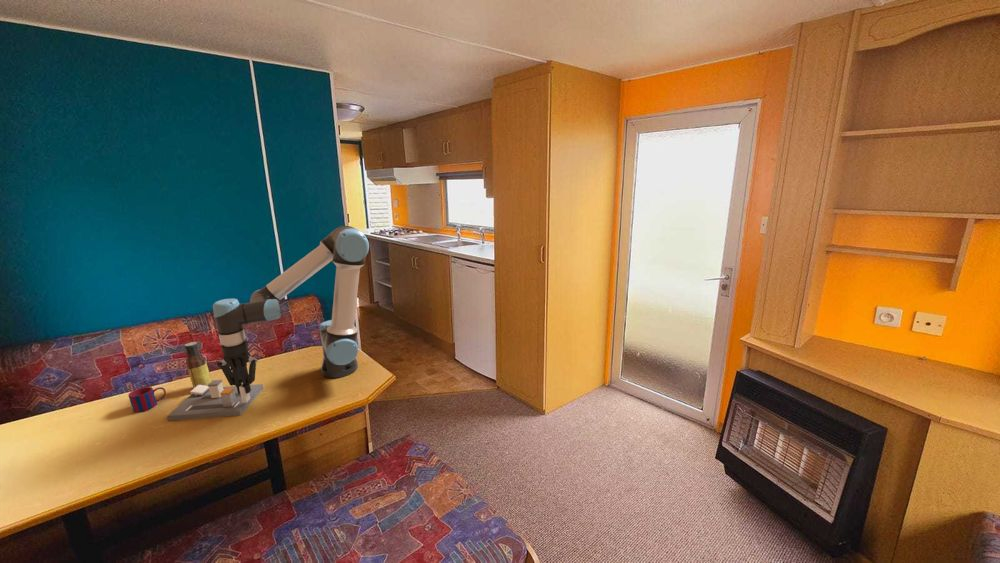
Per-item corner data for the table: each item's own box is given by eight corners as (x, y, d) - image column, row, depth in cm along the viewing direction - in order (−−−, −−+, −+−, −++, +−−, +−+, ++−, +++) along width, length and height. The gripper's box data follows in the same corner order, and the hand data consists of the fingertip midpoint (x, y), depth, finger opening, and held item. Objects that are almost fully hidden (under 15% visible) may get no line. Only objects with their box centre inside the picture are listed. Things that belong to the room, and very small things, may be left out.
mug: (135, 406, 146) (130, 390, 144) (169, 397, 151) (164, 382, 149) (131, 415, 140) (126, 398, 138) (167, 405, 146) (162, 389, 144)
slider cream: (224, 393, 149) (221, 379, 148) (220, 397, 146) (216, 384, 145) (215, 393, 149) (212, 380, 148) (210, 398, 146) (207, 384, 144)
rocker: (209, 390, 153) (209, 386, 152) (201, 397, 148) (201, 393, 148) (198, 388, 152) (198, 384, 152) (190, 395, 147) (190, 391, 147)
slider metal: (237, 401, 144) (234, 387, 142) (232, 406, 141) (229, 392, 139) (228, 402, 143) (224, 388, 142) (223, 407, 140) (219, 393, 139)
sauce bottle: (216, 384, 160) (206, 340, 155) (204, 392, 154) (192, 347, 149) (202, 383, 161) (191, 340, 155) (189, 391, 155) (177, 346, 149)
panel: (263, 388, 157) (262, 384, 156) (240, 415, 139) (239, 410, 139) (199, 393, 154) (198, 388, 153) (167, 420, 137) (166, 415, 136)
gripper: (258, 336, 140) (269, 393, 147) (220, 338, 139) (233, 396, 145) (248, 345, 133) (260, 405, 140) (207, 348, 132) (221, 407, 138)
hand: (246, 400), depth 142 cm, fingers closed
